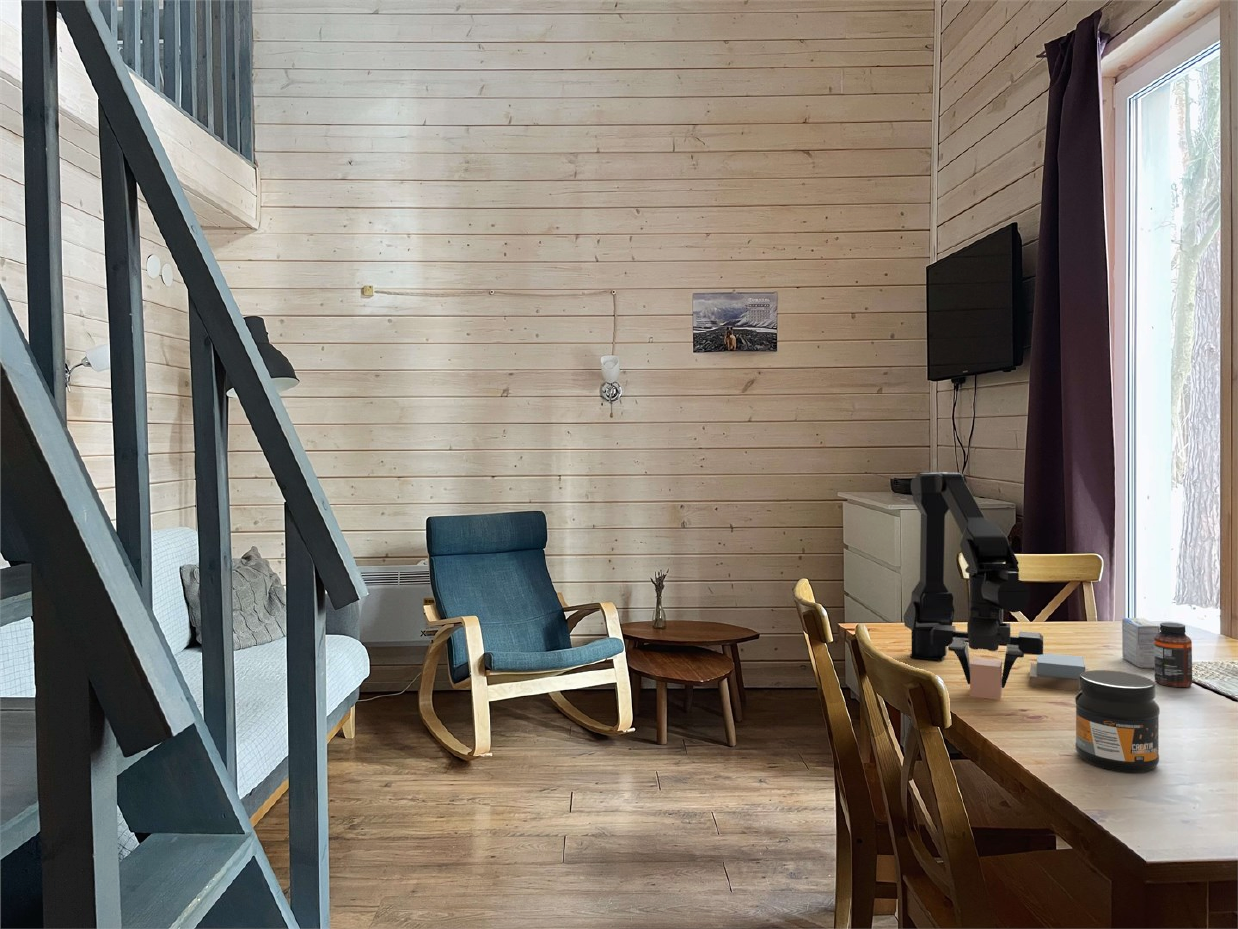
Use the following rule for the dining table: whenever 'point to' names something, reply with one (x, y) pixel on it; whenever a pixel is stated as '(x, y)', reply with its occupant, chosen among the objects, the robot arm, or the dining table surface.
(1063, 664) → the slate slab
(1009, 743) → the dining table surface
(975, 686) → the terracotta block
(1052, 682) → the walnut slab
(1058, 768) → the dining table surface
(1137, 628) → the medicine box
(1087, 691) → the supplement container
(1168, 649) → the supplement bottle
